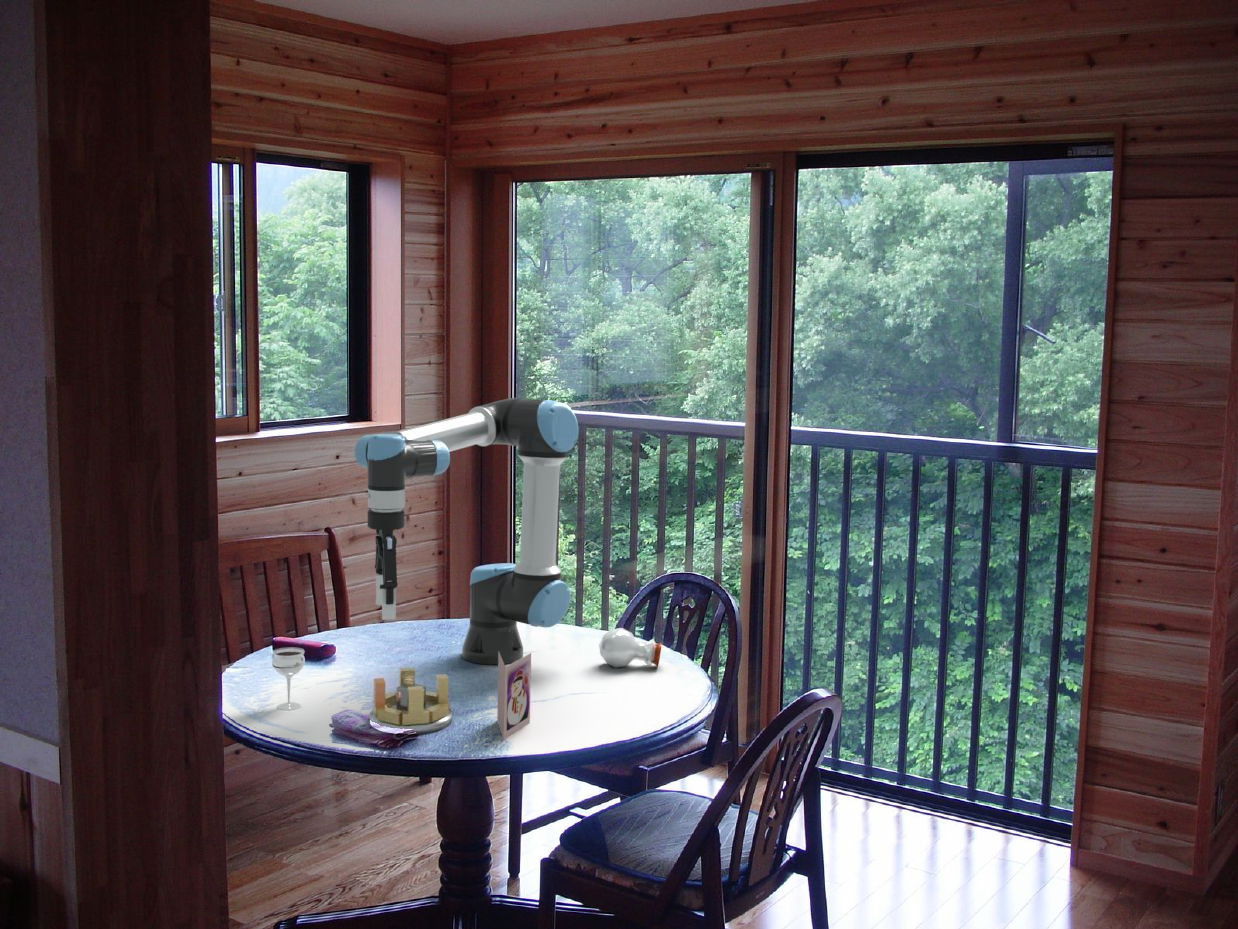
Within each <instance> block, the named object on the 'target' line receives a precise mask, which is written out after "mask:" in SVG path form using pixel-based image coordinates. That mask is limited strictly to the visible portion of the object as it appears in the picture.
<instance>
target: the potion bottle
mask: <svg viewBox="0 0 1238 929" xmlns="http://www.w3.org/2000/svg"><path fill="white" fill-rule="evenodd" d="M598 647H599V653H600V657H601V658H602V659H603V661H604V662H605V663H606V664H608V665H610V666H612V667H614V668H622V667H627V666H629V664H631V662H634V660H637V661H643V662H644V663H645V664H646V666H647V667H649V668H650V667H651V666H652V664H653V665H655V666H656V667H657V668H658V667H659V665H660V661H661V660H660V659H661V653H662V641H660V642H659V643H656V641H655V639H654V638H652V639H650V640H649V641H647V642H643V641H637V640H636V638H635V636H634V634H633V633H632V632H631V631H628V630H627V629H626V628H622V627H619V628H612V629H611V630H609V631H607V632H606V633H604V634H603V636H602V637H601V640H600V643H599V644H598Z"/></svg>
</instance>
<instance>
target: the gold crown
mask: <svg viewBox="0 0 1238 929" xmlns="http://www.w3.org/2000/svg"><path fill="white" fill-rule="evenodd" d="M398 670H399V672H398V673H399V675H398V677H399V678H398V679H399V682H398V683H399V685H398V686H401V685H405V684H416V682H415V681H416V670H415V668H414V667H402V668H401V667H400V668H399V669H398ZM423 686H424V685H423ZM423 686H415V687H407V711H401V710H396V709H392V708H390V707H392V706H394V705H396V691H393V692H388V693H386V680H385V679H384V677H380V678H379V677H378V678H373V700H372V710H373V712H374V715H375V718H376V719H378V720H380V721H385V722H389V723H393V724H398V725H399V724H402V725H409V724H422V723H429V722H434V721H436V720H438V719H440V718H442V717H445V716H447V715H448V714H449V709H450V702H449V677H448V675H447V673H442V674H436V686H435V687H436V691H435V692H434V691H430V690H429V691H427V690H426V705H430V706H432V707H430V708H428V709H425V710H424V689H423Z"/></svg>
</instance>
